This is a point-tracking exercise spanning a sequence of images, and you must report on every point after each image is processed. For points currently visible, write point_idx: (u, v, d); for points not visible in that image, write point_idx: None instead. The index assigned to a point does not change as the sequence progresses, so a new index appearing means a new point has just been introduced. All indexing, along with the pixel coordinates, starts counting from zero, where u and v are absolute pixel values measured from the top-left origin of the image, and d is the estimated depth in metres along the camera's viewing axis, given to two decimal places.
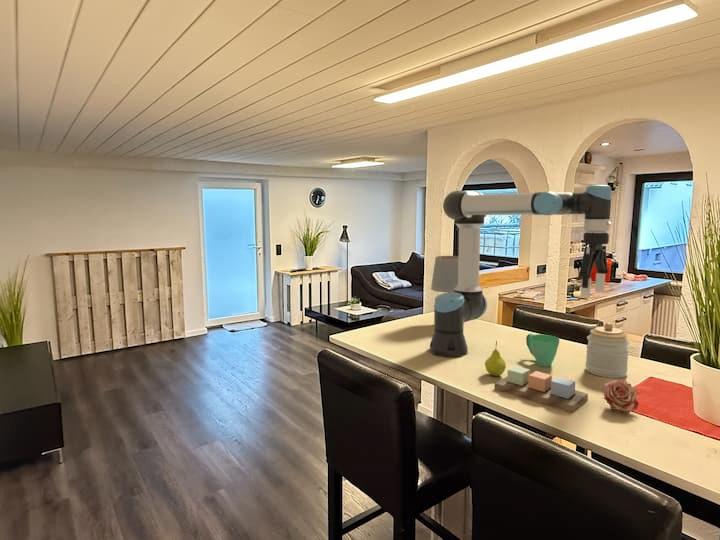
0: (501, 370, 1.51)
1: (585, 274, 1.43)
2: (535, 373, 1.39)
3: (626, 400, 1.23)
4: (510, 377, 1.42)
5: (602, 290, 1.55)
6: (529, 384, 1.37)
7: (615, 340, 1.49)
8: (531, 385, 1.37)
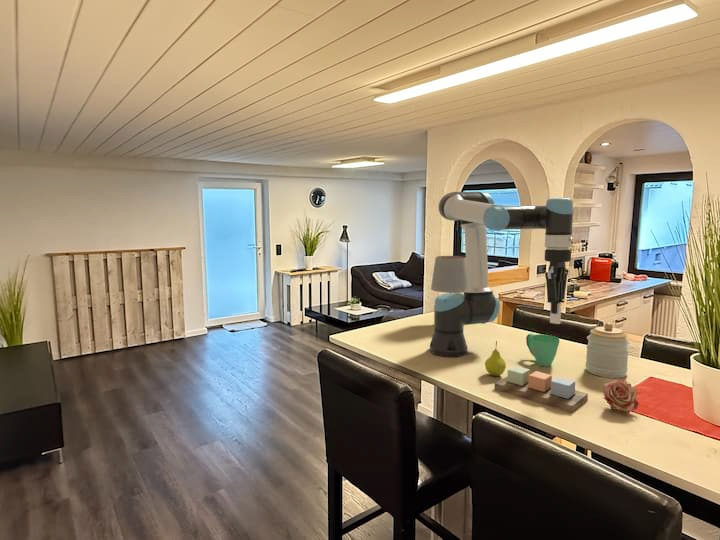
0: (501, 370, 1.51)
1: (553, 301, 1.37)
2: (535, 373, 1.39)
3: (626, 400, 1.23)
4: (510, 377, 1.42)
5: None
6: (529, 384, 1.37)
7: (615, 340, 1.49)
8: (531, 385, 1.37)
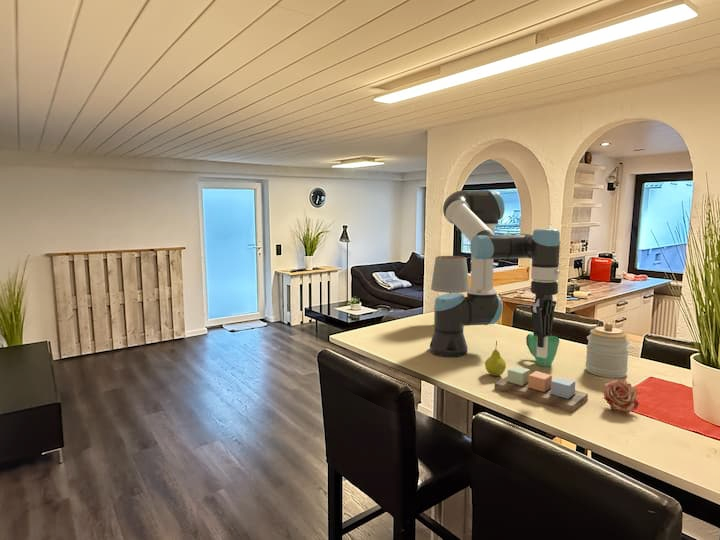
0: (501, 370, 1.51)
1: (539, 335, 1.32)
2: (535, 373, 1.39)
3: (626, 400, 1.23)
4: (510, 377, 1.42)
5: None
6: (529, 384, 1.37)
7: (615, 340, 1.49)
8: (531, 385, 1.37)
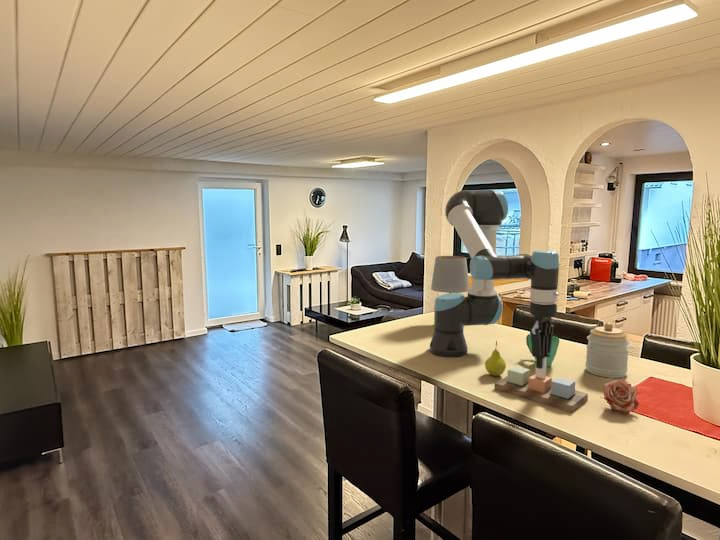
0: (501, 370, 1.51)
1: (538, 356, 1.33)
2: None
3: (626, 400, 1.23)
4: (510, 377, 1.42)
5: None
6: (529, 387, 1.37)
7: (615, 340, 1.49)
8: (531, 387, 1.37)
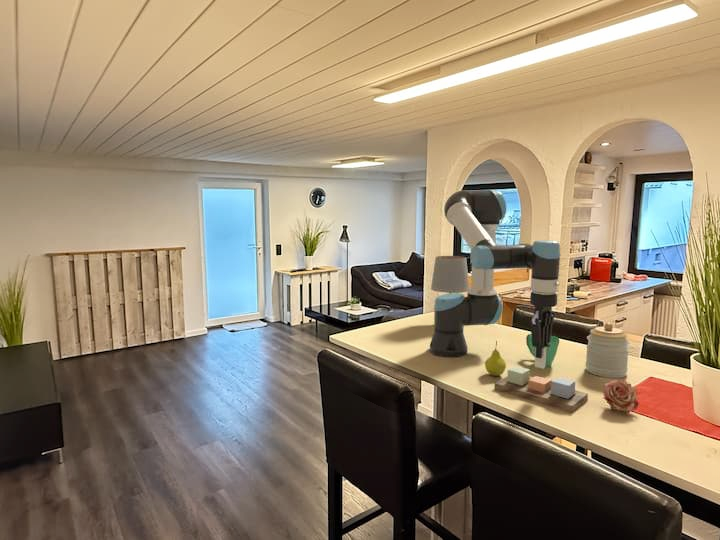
0: (501, 370, 1.51)
1: (538, 346, 1.33)
2: (535, 378, 1.39)
3: (626, 400, 1.23)
4: (510, 377, 1.42)
5: None
6: None
7: (615, 340, 1.49)
8: None
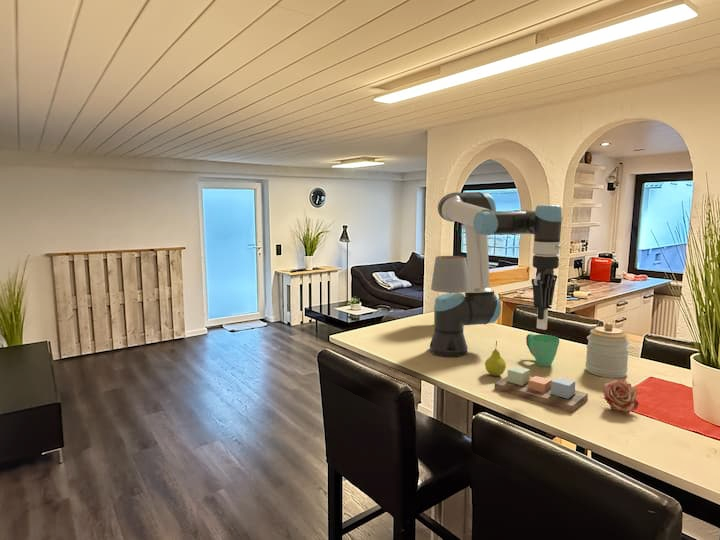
0: (501, 370, 1.51)
1: (540, 307, 1.38)
2: (535, 378, 1.39)
3: (626, 400, 1.23)
4: (510, 377, 1.42)
5: None
6: None
7: (615, 340, 1.49)
8: None
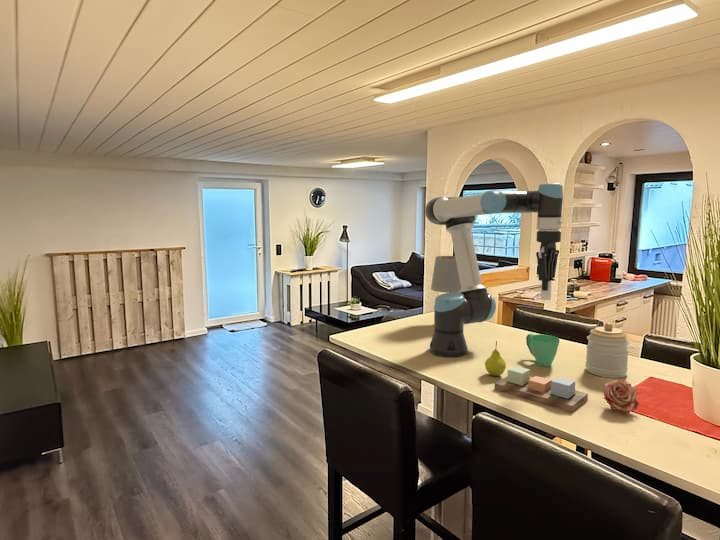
0: (501, 370, 1.51)
1: (544, 278, 1.48)
2: (535, 378, 1.39)
3: (626, 400, 1.23)
4: (510, 377, 1.42)
5: None
6: None
7: (615, 340, 1.49)
8: None
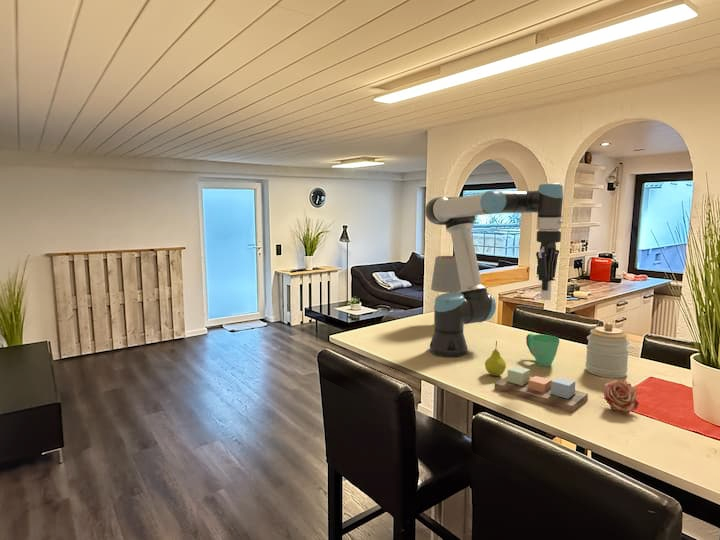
0: (501, 370, 1.51)
1: (544, 278, 1.48)
2: (535, 378, 1.39)
3: (626, 400, 1.23)
4: (510, 377, 1.42)
5: None
6: None
7: (615, 340, 1.49)
8: None
